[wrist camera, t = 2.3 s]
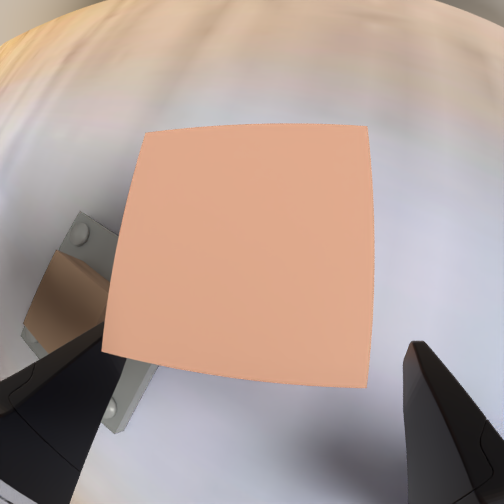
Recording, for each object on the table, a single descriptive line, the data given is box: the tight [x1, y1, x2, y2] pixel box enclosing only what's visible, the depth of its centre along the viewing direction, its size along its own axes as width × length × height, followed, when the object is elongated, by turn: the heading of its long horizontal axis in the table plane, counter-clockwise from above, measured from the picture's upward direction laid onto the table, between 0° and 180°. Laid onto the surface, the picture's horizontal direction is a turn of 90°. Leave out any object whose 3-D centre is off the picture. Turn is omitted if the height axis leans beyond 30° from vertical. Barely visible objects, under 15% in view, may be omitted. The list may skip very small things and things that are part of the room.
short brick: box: [23, 250, 110, 354], centre depth 19 cm, size 6×6×3 cm
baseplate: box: [21, 211, 159, 434], centre depth 20 cm, size 12×12×2 cm
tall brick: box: [102, 124, 374, 388], centre depth 12 cm, size 5×5×14 cm
